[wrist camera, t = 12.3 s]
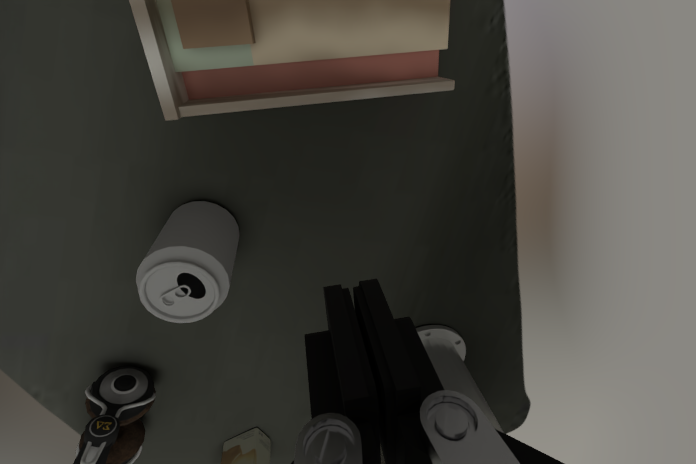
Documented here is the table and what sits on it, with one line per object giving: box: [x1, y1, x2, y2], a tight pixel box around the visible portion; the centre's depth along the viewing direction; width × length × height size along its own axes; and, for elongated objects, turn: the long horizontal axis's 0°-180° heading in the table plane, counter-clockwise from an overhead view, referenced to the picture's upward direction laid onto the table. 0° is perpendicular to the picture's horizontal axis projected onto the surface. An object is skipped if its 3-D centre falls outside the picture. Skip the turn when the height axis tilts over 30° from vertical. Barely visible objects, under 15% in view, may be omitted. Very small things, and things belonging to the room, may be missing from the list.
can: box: [136, 201, 240, 323], centre depth 35 cm, size 8×8×12 cm
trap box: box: [129, 0, 455, 121], centre depth 30 cm, size 15×25×6 cm, turn 94°
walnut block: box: [171, 0, 256, 49], centre depth 27 cm, size 5×5×4 cm
